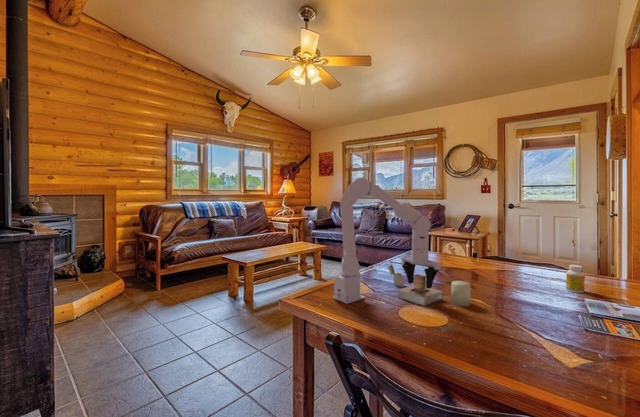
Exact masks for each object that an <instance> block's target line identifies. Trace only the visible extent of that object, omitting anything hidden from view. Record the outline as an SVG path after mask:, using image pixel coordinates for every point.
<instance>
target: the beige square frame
mask: <svg viewBox="0 0 640 417" xmlns="http://www.w3.org/2000/svg"><path fill="white" fill-rule="evenodd" d="M397 298H398V299H400V300H403V301H407V302H410V303H412V304H416V305H417V306H418V305H419V306H422V307H426V306H429V305H431V304H434V303H437V302H439V301H442V300H443V290H439V289H437V288H429V289H428V288H427V287H426V293H423V294H421V293H417V292H414V284H413V285H409V286H406V287H405V286H404V287H401V288H399V289H398V290H397Z"/></svg>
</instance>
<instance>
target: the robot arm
mask: <svg viewBox="0 0 640 417" xmlns="http://www.w3.org/2000/svg"><path fill="white" fill-rule="evenodd" d="M366 195H367V196H370V197H375V198H377V199H378V200H380V201H381V202H382V203H384V204H386V205H387V206H389V207H390V208H391V209H393V214H394V215H395V216H396V217H397V218H399V219H401V220H402V221H403V222H404V223H406V224H407V225H410V228H412V229H411V230H412V234H411V257H410V256H409V257H408V256H402V257H401V263H403V264H402V265H401V266H402V268H403V270H404V272H405V274H406V278H407V282H408V284H414V275H415V270H416V269H415V268H416V266H418V267H424V273H425V274H424V275H425V276H426V287H427V288H428V289H429V288H432V287H433V283H434V280H435V278H436V276H437V274H438V272H439V270H440V269H441V267H440V266H441V263H439V262H435V261H432V260H430V259H429V246H430V245H429V242H430V241H429V231H430V229H431V227H432V223H431V220H430V219H429V218H428V216H425V215H423V214H422V211H420V210H417V209H415V208H414V207H413V206H412V205H411V203H410V202H409V201H407V202H406V201H398V200H397V199H395V198H394V197H393V196H392V195H390V194H389V193H387V192H386V191H385V190H384V189H382V188H381V187H380V186H378V185H377V184H375V183H374V182H371V181H369V180H368V179H367V178H365V177H358V178H356V179H355V180H353V181H352V182H351V183H350V184H349V185H348V186H347V188H346V189H345V192H344V193H343V194H342V196H341V198H340V201H339V203H340V218H341V219H340V220H341V231H342V235H341V236H342V247H343V248H342V250H343V256H342V258H341V271H340V275H339V276H337V277H335V278H334V280H333V296H332V299H334V300H337V301H339V302H342V303H344V304H346V305H347V304H351V303H353V302H358V301H360V300H364V299H366V296H364V295H361V272H360V269H361V266H360V265H361V264H360V263H359V259H358V257H357V252H356V251H357V250H356V238H355V236H356V234H355V222H354V220H355V219H354V218H355V217H354V204H355V203H357V202H358V200H359V199H360V198H363V197H364V196H366Z"/></svg>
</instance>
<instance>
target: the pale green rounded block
mask: <svg viewBox="0 0 640 417" xmlns="http://www.w3.org/2000/svg"><path fill="white" fill-rule="evenodd" d="M450 284H451V287H450V288H451V289H450V294H451V296H450V298H451V299H450V303H451V304H452V305H455V306H459V307H468V306H471V283H470V282H468V281H463V280H452V281H451V283H450Z"/></svg>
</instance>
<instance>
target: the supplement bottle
mask: <svg viewBox="0 0 640 417" xmlns="http://www.w3.org/2000/svg"><path fill="white" fill-rule="evenodd" d="M568 268H569V269H568V270H567V271H566V275H565V276H566V277H565V278H566V280H565V290H566V291H568V292H572V293H576V294H577V293H580V294H581V293H584V292H585V277H586V276H585V272H583V266H582V265H577V264H569V265H568Z"/></svg>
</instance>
